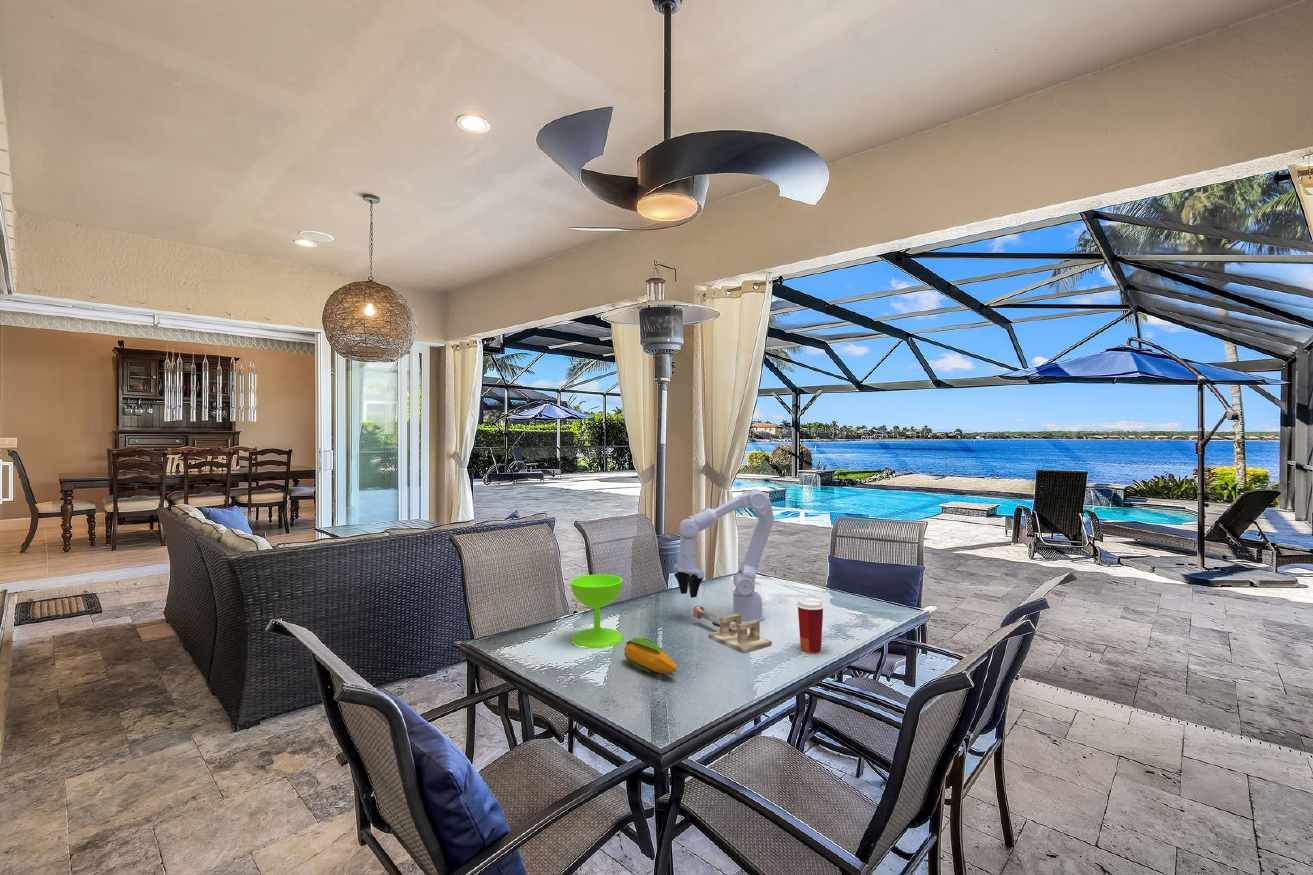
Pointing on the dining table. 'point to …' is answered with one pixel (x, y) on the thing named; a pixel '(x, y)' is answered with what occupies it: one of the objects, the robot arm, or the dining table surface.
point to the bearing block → (740, 635)
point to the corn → (648, 656)
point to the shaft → (711, 617)
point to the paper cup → (810, 624)
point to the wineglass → (597, 608)
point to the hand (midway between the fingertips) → (688, 595)
